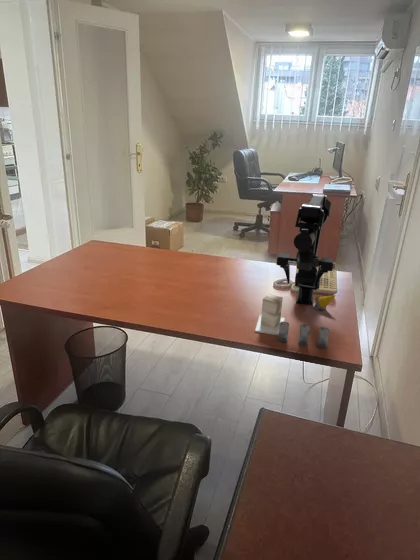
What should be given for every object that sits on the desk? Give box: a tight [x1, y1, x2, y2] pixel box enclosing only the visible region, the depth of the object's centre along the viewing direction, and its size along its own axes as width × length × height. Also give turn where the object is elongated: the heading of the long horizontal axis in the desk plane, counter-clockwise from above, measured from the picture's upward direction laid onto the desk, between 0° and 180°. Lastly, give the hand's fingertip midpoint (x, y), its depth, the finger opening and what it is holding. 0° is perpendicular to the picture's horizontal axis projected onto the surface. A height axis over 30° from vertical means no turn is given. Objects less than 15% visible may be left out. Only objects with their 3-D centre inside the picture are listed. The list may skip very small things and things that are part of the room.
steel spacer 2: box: [316, 326, 330, 349], centre depth 127 cm, size 3×3×6 cm
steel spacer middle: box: [297, 323, 311, 346], centre depth 128 cm, size 3×3×6 cm
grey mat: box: [254, 313, 286, 336], centre depth 139 cm, size 12×9×1 cm
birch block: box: [261, 293, 283, 329], centre depth 137 cm, size 5×5×10 cm
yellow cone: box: [313, 294, 336, 311], centre depth 151 cm, size 5×5×10 cm
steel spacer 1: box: [277, 321, 290, 343], centre depth 129 cm, size 3×3×6 cm
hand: (301, 284), depth 140 cm, fingers open, 9 cm apart
